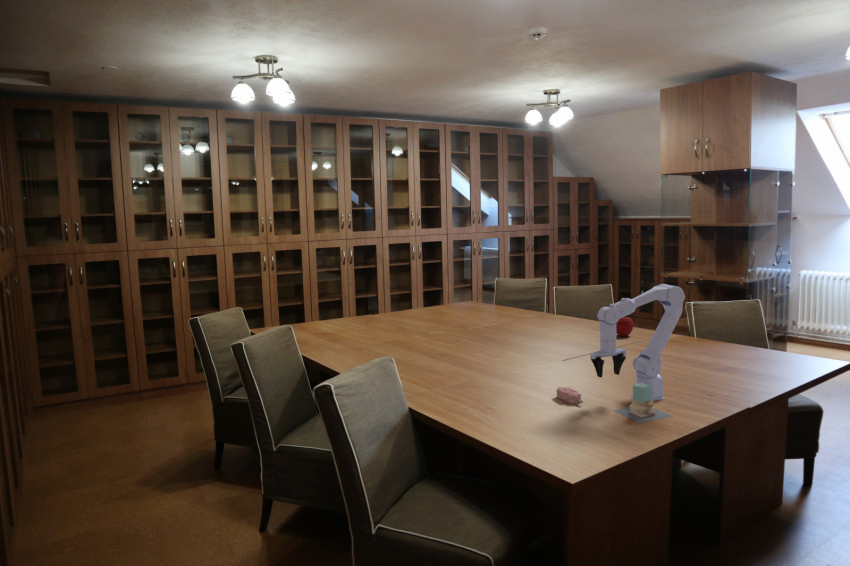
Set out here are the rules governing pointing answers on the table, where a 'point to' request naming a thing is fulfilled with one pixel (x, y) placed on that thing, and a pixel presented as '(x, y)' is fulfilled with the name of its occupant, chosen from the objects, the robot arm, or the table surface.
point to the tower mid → (642, 404)
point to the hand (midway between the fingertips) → (608, 375)
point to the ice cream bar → (569, 395)
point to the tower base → (642, 411)
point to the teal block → (642, 392)
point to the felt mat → (642, 419)
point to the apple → (624, 326)
